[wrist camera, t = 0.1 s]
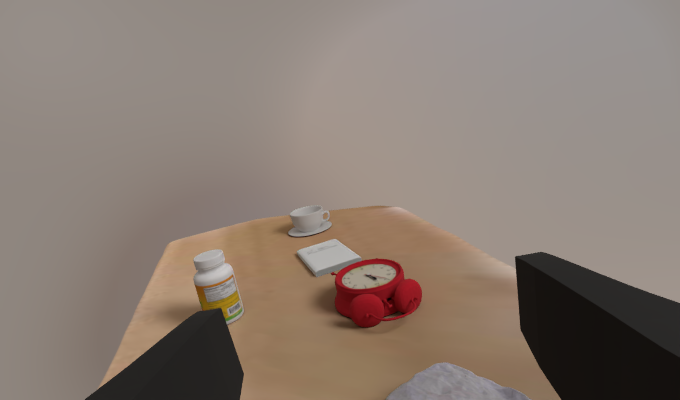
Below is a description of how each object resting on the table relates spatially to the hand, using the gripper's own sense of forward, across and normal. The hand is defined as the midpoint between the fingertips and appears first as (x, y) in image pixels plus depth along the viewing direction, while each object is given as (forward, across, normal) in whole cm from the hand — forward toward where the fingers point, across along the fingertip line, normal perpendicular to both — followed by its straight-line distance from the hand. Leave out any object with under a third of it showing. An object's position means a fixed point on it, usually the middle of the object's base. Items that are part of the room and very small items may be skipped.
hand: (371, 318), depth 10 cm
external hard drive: (+57, +9, +26) cm, 64 cm away
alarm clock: (+38, +1, +25) cm, 46 cm away
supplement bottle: (+41, +23, +25) cm, 53 cm away
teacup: (+76, +14, +28) cm, 82 cm away
